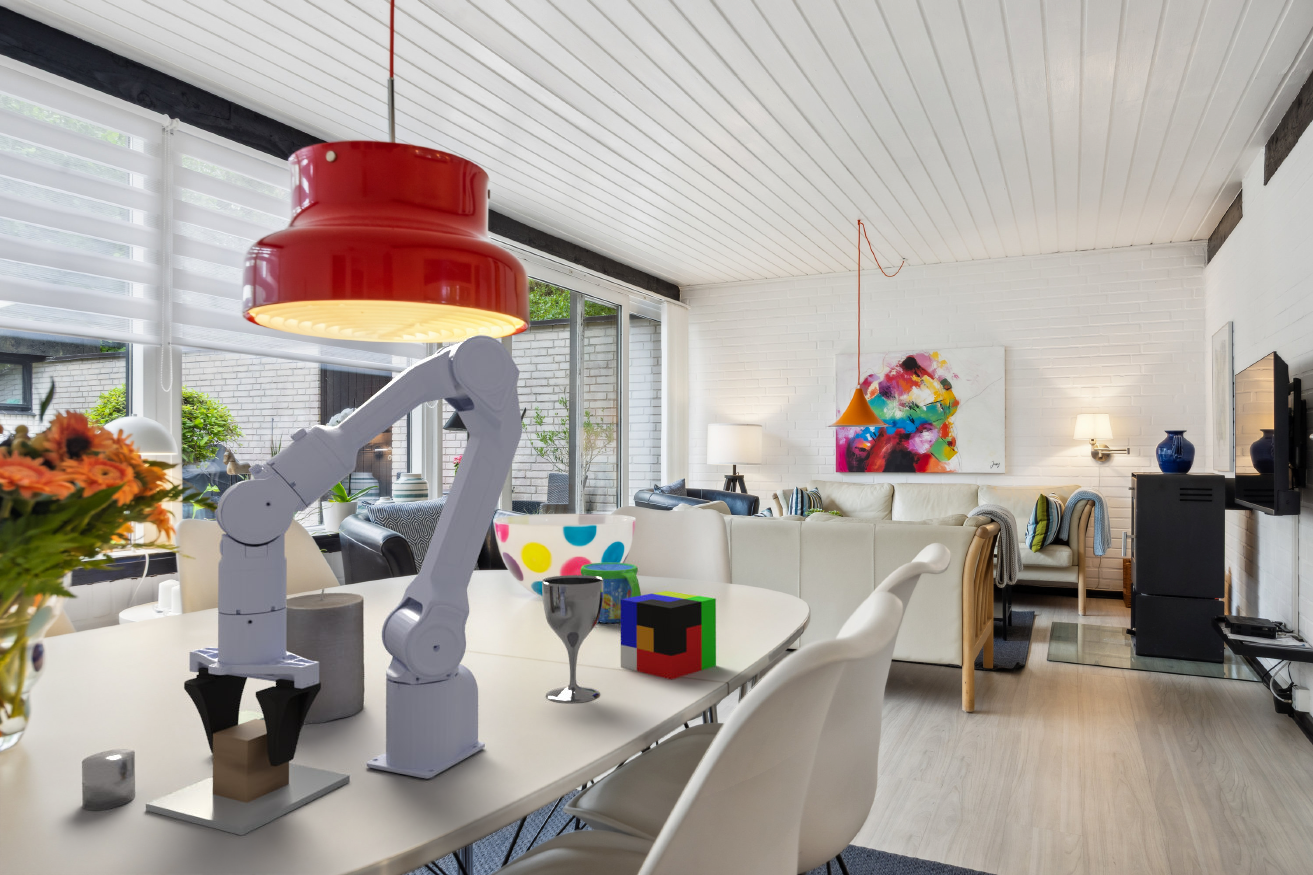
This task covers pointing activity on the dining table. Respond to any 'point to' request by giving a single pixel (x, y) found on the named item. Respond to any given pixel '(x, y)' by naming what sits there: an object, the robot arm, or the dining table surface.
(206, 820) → the slate tile
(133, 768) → the grey cylinder
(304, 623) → the pillar candle
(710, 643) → the puzzle toy
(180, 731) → the dining table surface
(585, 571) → the snack cup
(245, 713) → the sage box
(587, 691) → the wine glass
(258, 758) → the walnut block
